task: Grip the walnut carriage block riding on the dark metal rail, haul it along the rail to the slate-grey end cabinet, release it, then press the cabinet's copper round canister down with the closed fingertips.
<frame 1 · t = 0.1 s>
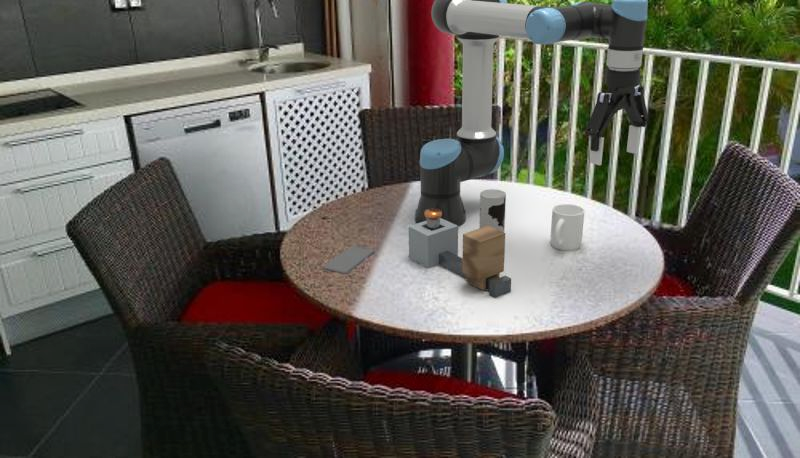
hand: (614, 158, 162), 28 cm above the table, fingers open, 13 cm apart
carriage: (483, 258, 162), point 7 cm above the table, slide at 11.0 cm
rail: (469, 276, 169), on the table
cabinet: (433, 257, 179), on the table
mug: (562, 247, 183), on the table
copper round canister: (433, 224, 175), point 9 cm above the table, slide at 0.0 cm
smartphone: (349, 261, 179), on the table
cup: (491, 246, 185), on the table
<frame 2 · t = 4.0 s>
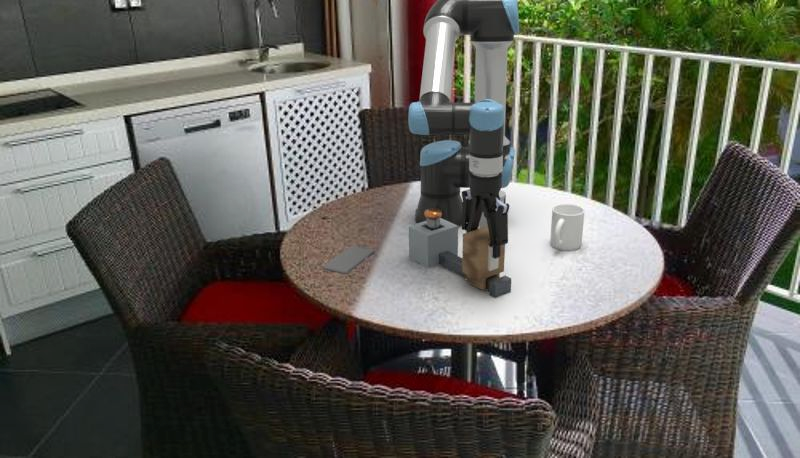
hand: (483, 263, 163), 5 cm above the table, fingers closed on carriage, 6 cm apart
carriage: (483, 258, 162), point 7 cm above the table, slide at 11.0 cm, touching gripper
everything else where it was.
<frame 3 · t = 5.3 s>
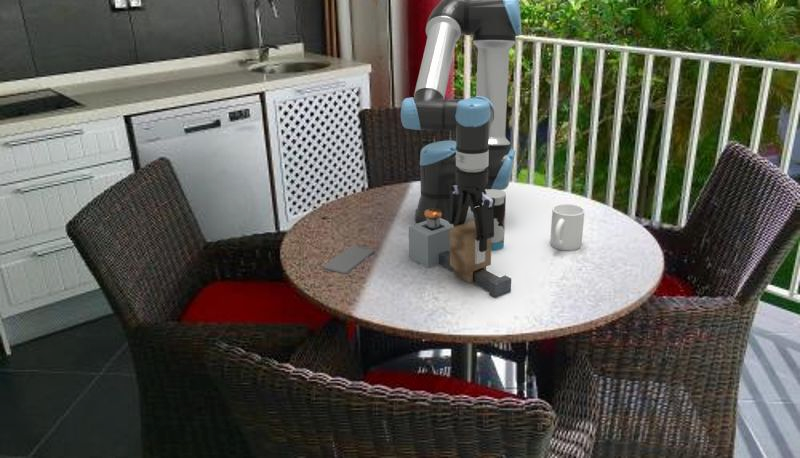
hand: (470, 257, 166), 5 cm above the table, fingers closed on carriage, 6 cm apart
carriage: (470, 252, 166), point 7 cm above the table, slide at 6.4 cm, touching gripper
everything else where it was.
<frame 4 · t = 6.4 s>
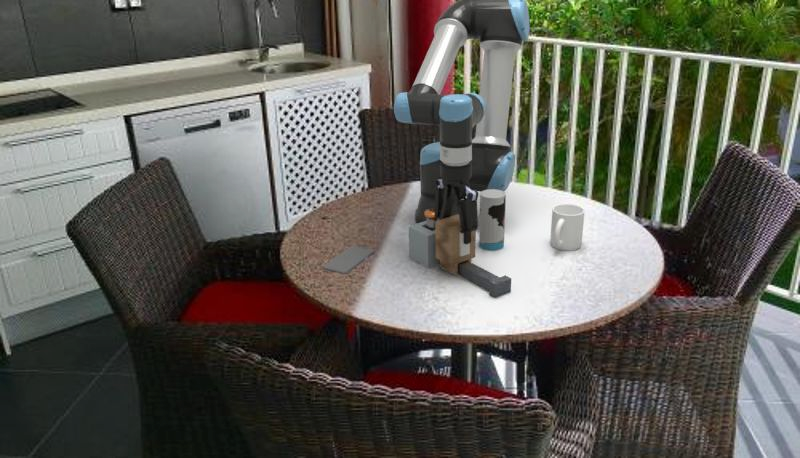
hand: (455, 250, 170), 5 cm above the table, fingers closed on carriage, 6 cm apart
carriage: (455, 244, 170), point 7 cm above the table, slide at 0.8 cm, touching gripper
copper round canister: (433, 224, 175), point 9 cm above the table, slide at 0.0 cm, touching gripper, hand
everything else where it was.
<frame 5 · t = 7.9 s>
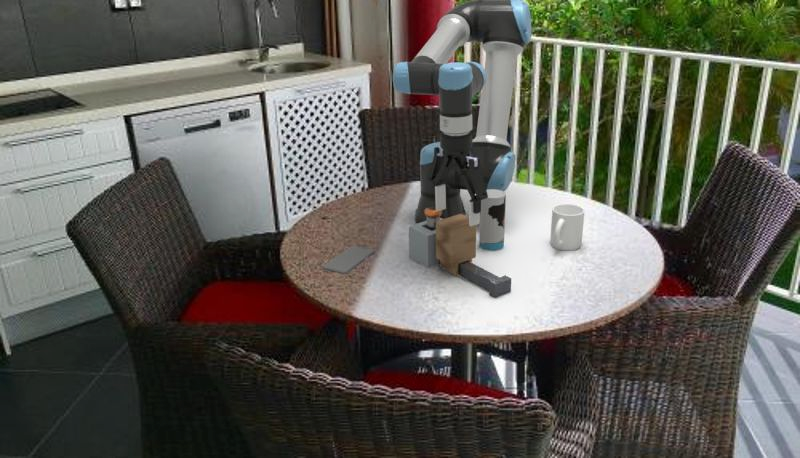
hand: (457, 217, 167), 14 cm above the table, fingers open, 12 cm apart
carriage: (456, 244, 170), point 7 cm above the table, slide at 1.0 cm
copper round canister: (433, 222, 175), point 10 cm above the table, slide at 0.4 cm
everything else where it was.
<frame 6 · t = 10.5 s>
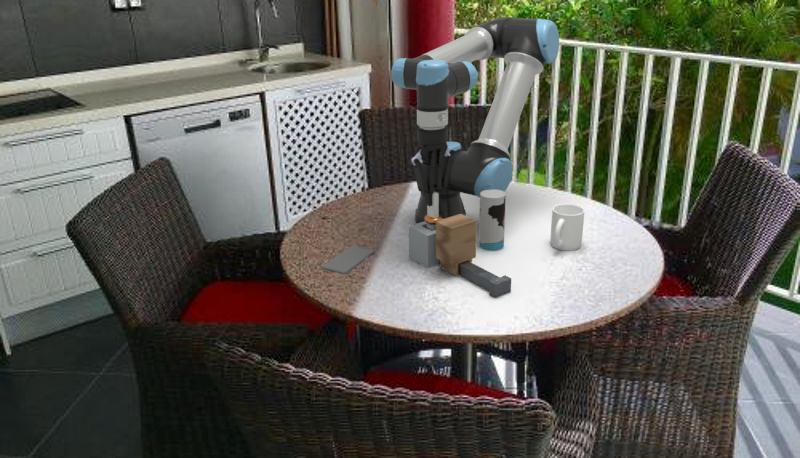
hand: (432, 216, 174), 12 cm above the table, fingers closed
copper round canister: (433, 229, 176), point 8 cm above the table, slide at -1.5 cm, touching gripper
everything else where it was.
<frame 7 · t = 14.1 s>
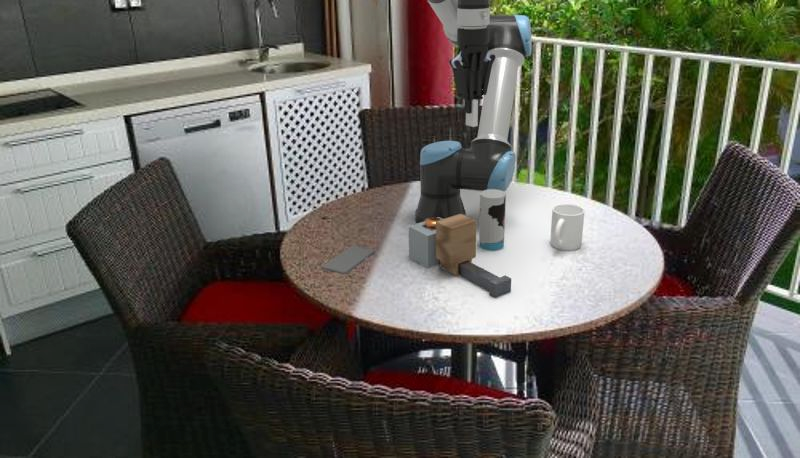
hand: (471, 125, 169), 34 cm above the table, fingers closed
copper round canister: (433, 233, 176), point 7 cm above the table, slide at -2.5 cm
everything else where it was.
at the end: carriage slide at 1.0 cm; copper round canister slide at -2.5 cm; the gripper is holding nothing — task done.
